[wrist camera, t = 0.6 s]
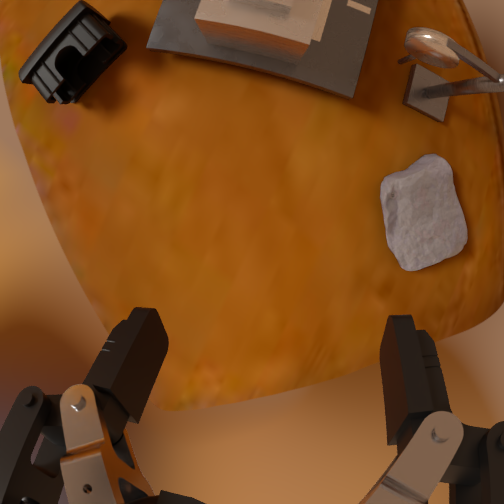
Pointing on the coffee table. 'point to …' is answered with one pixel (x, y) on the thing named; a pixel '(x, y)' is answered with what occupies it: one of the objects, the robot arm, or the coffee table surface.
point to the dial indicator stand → (433, 86)
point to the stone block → (423, 213)
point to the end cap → (72, 55)
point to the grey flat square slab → (306, 71)
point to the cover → (260, 26)
